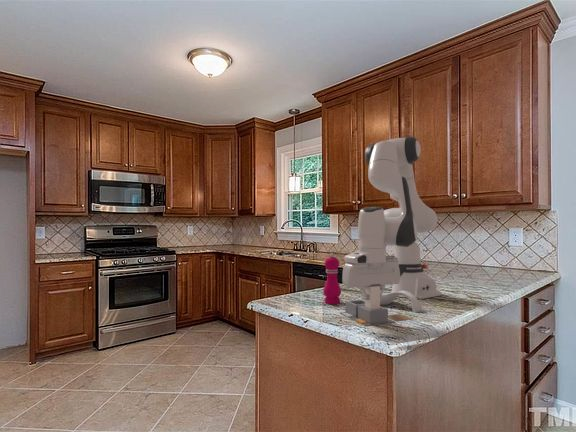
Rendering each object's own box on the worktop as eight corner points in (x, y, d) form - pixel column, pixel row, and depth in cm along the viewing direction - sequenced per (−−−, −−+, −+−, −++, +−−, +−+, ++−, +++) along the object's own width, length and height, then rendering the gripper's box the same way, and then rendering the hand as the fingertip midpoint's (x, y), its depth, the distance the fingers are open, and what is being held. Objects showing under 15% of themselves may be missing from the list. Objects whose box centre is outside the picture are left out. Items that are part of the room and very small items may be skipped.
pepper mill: (340, 304, 139) (340, 254, 140) (322, 304, 141) (322, 254, 141) (341, 300, 146) (341, 252, 147) (324, 300, 148) (323, 252, 148)
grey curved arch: (357, 304, 141) (357, 286, 141) (376, 300, 148) (376, 283, 148) (409, 317, 122) (409, 296, 122) (428, 311, 129) (428, 292, 129)
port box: (366, 312, 127) (365, 298, 127) (394, 324, 112) (394, 308, 112) (339, 315, 123) (339, 301, 123) (365, 328, 108) (365, 312, 108)
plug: (373, 308, 116) (373, 281, 116) (380, 311, 113) (379, 283, 113) (365, 309, 115) (364, 282, 115) (371, 312, 112) (370, 283, 112)
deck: (399, 316, 122) (399, 313, 122) (413, 321, 116) (413, 319, 116) (382, 318, 120) (382, 315, 120) (396, 323, 113) (396, 321, 113)
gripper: (392, 254, 121) (392, 294, 121) (339, 256, 114) (340, 299, 113) (404, 256, 115) (404, 298, 115) (350, 258, 108) (350, 303, 107)
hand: (372, 299), depth 114 cm, fingers closed on plug, 3 cm apart
